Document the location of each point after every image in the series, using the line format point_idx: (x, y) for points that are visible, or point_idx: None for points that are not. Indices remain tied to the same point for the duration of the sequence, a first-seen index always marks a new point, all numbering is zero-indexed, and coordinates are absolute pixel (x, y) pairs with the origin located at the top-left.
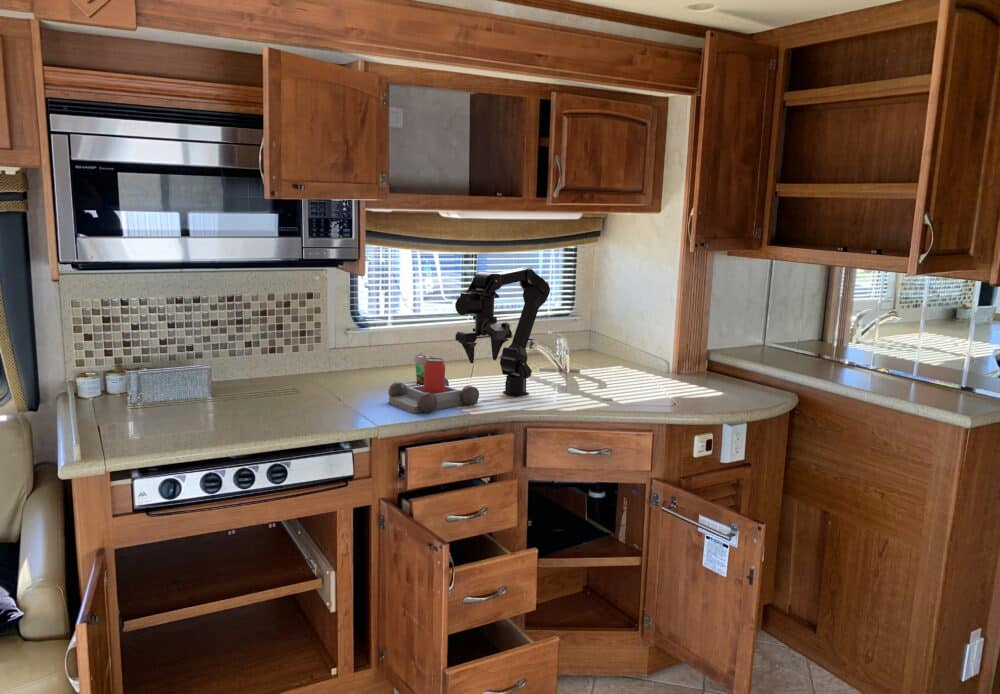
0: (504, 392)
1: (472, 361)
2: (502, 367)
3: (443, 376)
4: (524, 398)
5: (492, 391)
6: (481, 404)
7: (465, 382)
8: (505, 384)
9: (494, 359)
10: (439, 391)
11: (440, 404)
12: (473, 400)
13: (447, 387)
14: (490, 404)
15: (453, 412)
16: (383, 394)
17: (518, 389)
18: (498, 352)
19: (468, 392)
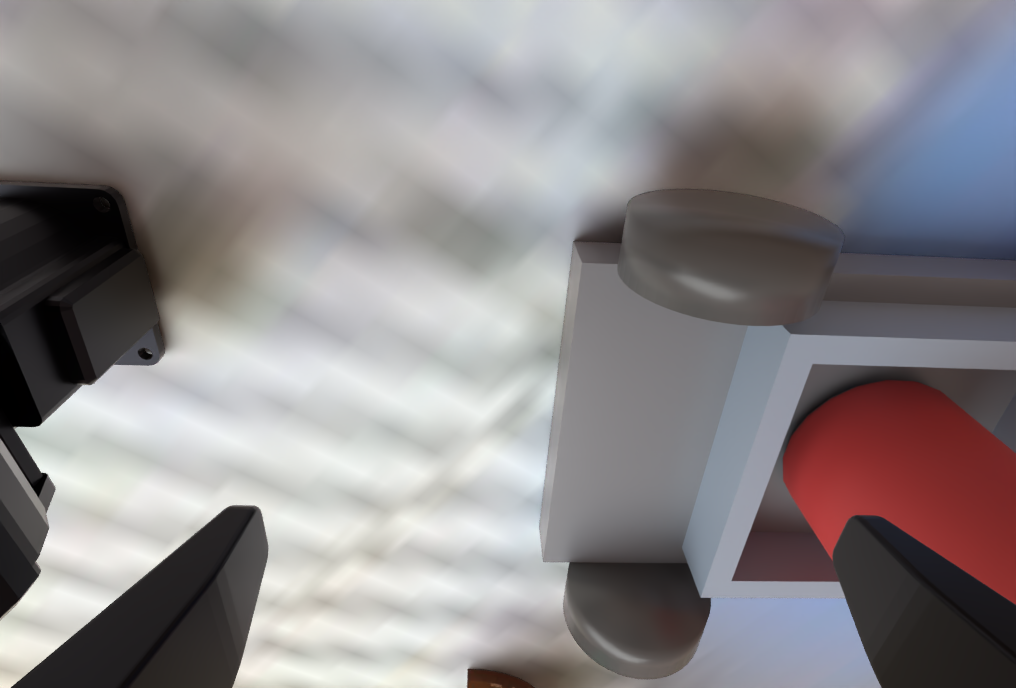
0: (157, 335)
1: (910, 540)
2: (36, 512)
3: (1009, 521)
4: (43, 80)
5: (221, 433)
6: (592, 167)
7: (266, 659)
8: (118, 357)
9: (256, 532)
10: (947, 412)
11: (995, 272)
12: (687, 201)
13: (768, 476)
14: (523, 112)
15: (1009, 98)
16: (850, 664)
17: (18, 222)
18: (73, 655)
19: (795, 233)
